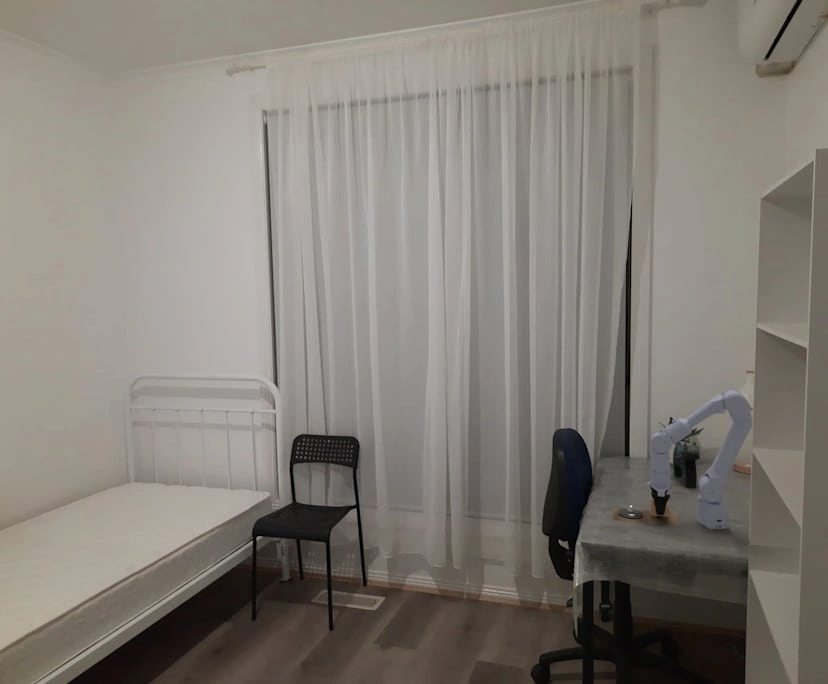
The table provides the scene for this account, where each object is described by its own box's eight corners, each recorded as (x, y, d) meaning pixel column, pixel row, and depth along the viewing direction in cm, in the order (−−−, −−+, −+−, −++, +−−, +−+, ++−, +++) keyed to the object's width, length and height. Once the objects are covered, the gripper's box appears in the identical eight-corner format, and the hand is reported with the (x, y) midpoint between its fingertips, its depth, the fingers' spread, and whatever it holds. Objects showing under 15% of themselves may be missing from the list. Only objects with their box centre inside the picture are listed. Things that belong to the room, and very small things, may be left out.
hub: (642, 512, 209) (643, 502, 209) (643, 520, 202) (643, 510, 202) (618, 510, 212) (618, 500, 212) (618, 517, 205) (618, 508, 204)
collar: (668, 511, 206) (668, 502, 206) (669, 516, 201) (669, 507, 201) (650, 509, 208) (650, 500, 207) (651, 515, 202) (651, 506, 202)
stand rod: (662, 516, 205) (662, 506, 205) (662, 518, 203) (663, 508, 203) (655, 516, 206) (656, 505, 205) (656, 518, 204) (656, 507, 203)
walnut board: (676, 517, 208) (676, 512, 208) (679, 530, 197) (679, 526, 197) (613, 511, 215) (613, 507, 214) (612, 524, 203) (612, 519, 203)
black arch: (700, 489, 236) (701, 437, 235) (682, 489, 237) (683, 437, 236) (684, 474, 256) (685, 425, 254) (667, 474, 257) (668, 425, 255)
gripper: (646, 463, 211) (645, 503, 212) (647, 475, 197) (647, 518, 198) (668, 464, 209) (668, 505, 210) (672, 477, 195) (671, 520, 196)
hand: (659, 511), depth 204 cm, fingers closed on collar, 5 cm apart
